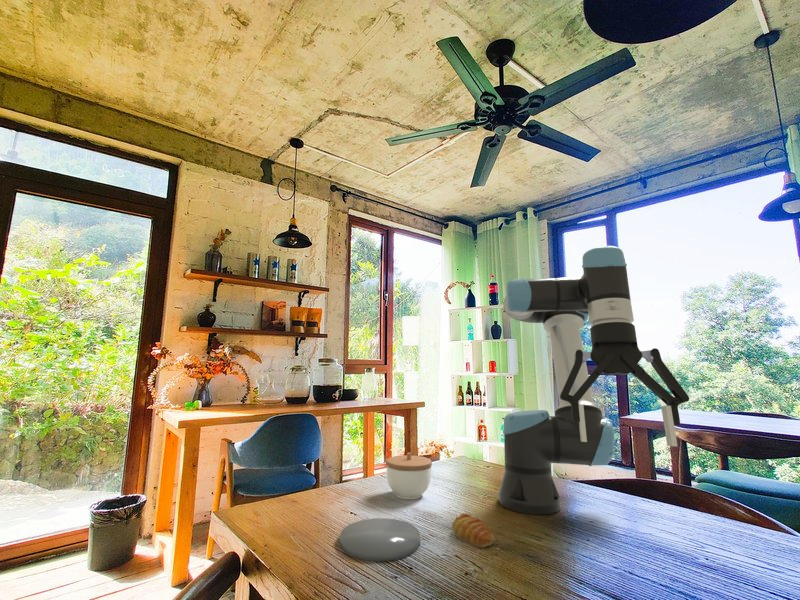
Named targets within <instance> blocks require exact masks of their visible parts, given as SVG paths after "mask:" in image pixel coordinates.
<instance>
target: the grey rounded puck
mask: <svg viewBox="0 0 800 600" xmlns="http://www.w3.org/2000/svg"><path fill="white" fill-rule="evenodd" d="M339 546H340V548H341V550H342V552H343V553H345V554H347V555H348V556H351V557H353V558H355V559H359V560H363V561H368V562H369V561H370V562H390V561H396V560H401V559H403V558H406V557H409V556H412V555H413V554H414V553H416V552H417V550H419V548H420V546H421V532H420V530H419V528H418V527H416V526H415V525H413V524H412V523H409V522H407V521H405V520H404V521H403V520H400V519H395V518H386V517H385V518H382V517H379V518H368V519H362V520H357V521H355V522H352V523H350V524H348V525H346V526H345V527H344V528H342V530H341V532H340V535H339Z"/></svg>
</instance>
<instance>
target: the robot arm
mask: <svg viewBox="0 0 800 600" xmlns="http://www.w3.org/2000/svg"><path fill="white" fill-rule="evenodd" d="M581 267H582V270H583V273H582V276H576V277H557V278H556V277H553V278H518V279H510V280H508V281H507V282H506V291H505V292H506V296H504V299H503V302H502V303H503V309H504V312H505V313H506V315H507V316H509V317H510V318H511V319H513V320H516V321H519V322H523V323H528V324H529V323H531V324H535V323H536V324H543V329H544V330H545V331H546V332H548V333H549V336H550V345H551V351H552V358H553V359H552V360H553V368H554V373H555V381H556V390H557V395H558V403H559V404H558V407H557V408H556V409H554V416H553V415H552V416H551V415H550V413H549V411H547V410H545V409H530V410H529V409H528V410H520V411H514V412H511V413H508V414H507V415H505V416H504V419H503V431H502V434H503V437H504V438H503V440H504V443H503V444H504V445H503V446H504V448H503V449H504V473H503V477H502V480H501V483H500V487H499V490H498V491H499V492H498V502H499V504H500V505H501V506H503V507H504V508H506V509H509V510H510V511H515V512H518V513H522V514H528V515H550V514H551V515H552V514H556V513H557V512H559V511H560V510H562V509H561V508H562V507H561V506H562V505H561V498H560V494H559V491H558V489H557V486H556V483H555V481H554V478H553V474H552V464H562V465H576V466H577V465H581V466H589V467H592V466H607V465H608V464H610V462H611V461H612V458H613V455H614V449H615V430H614V425H613V423H612V420H611V419H610V418H609V417H605V416H604V417H603V412H602V409H601V407H599V406H597V405H596V404H594V398H593V394H592V389H591V387H592V386H593V384H594V383H595V382H596V381H597V379H598V378H599V377H600V376H601V374H602V373H603V374H606V375H607V376H614V375H618V376H619V375H620V376H626V375H630V374H631V375H632V376H634V377H635V378H636V379H638V380H639V381H640V382H641V383H642V384H643V385H645V386H646V388H648V390H650V391H651V392H652V393H653V394H654V395H656V397H658V399H660V400H661V402H662V403H664V404H665V405H663V406H661V415H662V420H663V427H664V431H665V440H666V445H667V446H668V447H678V441H677V435H676V428H675V426H680V423H681V419H680V412H679V408H678V407H679V405H680V404H683V403H687V402H689V401H690V396H689V395H688V393H687V392H686V391H685V389H684V388H683V387H682V385H681V384H680V382H678V380H677V379H676V377H675V376H674V375H673V374H672V372H671V371H670V370H669V368H668V367H667V365H666V364H665V363H664V361H663V359H662V356H661V353H660V351H659V349H658V348H652V349H649V350H643V351H641V350H640V348H639V346H638V340H637V334H636V332H637V331H636V327H635V324H633V322H634V313H633V312H634V311H633V308H632V302H631V301H632V299H631V293H630V292H631V291H630V286H629V279H628V270H627V267H628V265H627V263H626V259H625V254H624V252H623V250H622V249H621V248H619V247H617V246H614V245H605V246H603V245H602V246H597V247H593V248H590V249H589V250H587V251H585V253H583V254H582V265H581ZM587 320H588V323H589V325H590V326H591V327H590V328H589V332H590V340H591V341H590V342H591V351H585V350H584V345H583V340H582V335H581V329H582V328H583V327H584V324H585V322H586V321H587ZM642 358H643V359H644V360H645V361H646V362H647V363H650V364H651V367H653V369H654V371H655V372H656V374H657V375H658V376H659V378H660V379H661V380H662V382H663V383H664V384H665V386H666V387H667V389H668V390H669V391H670V392H669V391H668V390H667V389H665V388H664V387H663V386H662V385H661V384H660V383H659V382H658V381H656V380H655V379H654V378H653V377H652V376H651V375H650V374H649V373H648V372H646V370H645V369H644V368H643V367H642V366H641V365H640V364H639V363H640V361H641V359H642ZM588 359H590V360H591V361H592V362H593V363H594V364H595V366H596V367H595V368H594V369H593V371H592V372H591V373H590V375H589V372H588V367H587V360H588Z"/></svg>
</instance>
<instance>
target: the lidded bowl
mask: <svg viewBox="0 0 800 600" xmlns="http://www.w3.org/2000/svg"><path fill="white" fill-rule="evenodd" d="M385 463H386V478H387V483H388V487H390V490H391V491H392V492H393V493H394V494H395V497H396V498H398V499H402V500H410V501H411V500H416V499H420V498H422V497H423V494H424V493H425V492H426V491H427V490H428V488H429V485H430V483H431V480H432V479H431V478H432V465H433V462H432V460H431V459H430V458H429V457H427V456H421V455H412V452H406V455H404V454H403V455H402V454H401V455H396V456H395V455H394V456H392V457H391V456H390V457H389V458H387V459H386V460H385Z"/></svg>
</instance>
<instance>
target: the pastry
mask: <svg viewBox="0 0 800 600" xmlns="http://www.w3.org/2000/svg"><path fill="white" fill-rule="evenodd" d="M451 528H452V531H453V533H454V536H456V537H457V538H458V539H459V540H460V541H463V543H466V544H468V545H471V546H473V547H479V548H481V549H482V548H486V547H487V546H492V545H493V543H494V540H495V537H494V535H493V532H492V530H491V529H490V527H489V525H488V524H486V523H485V522H484V520H483V519H480V518H479V517H478V516H472V514H470V513H466V512H465V513H461V514H460V515H458V516H457V517H455V519H454V520H453V523H452V526H451Z"/></svg>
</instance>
